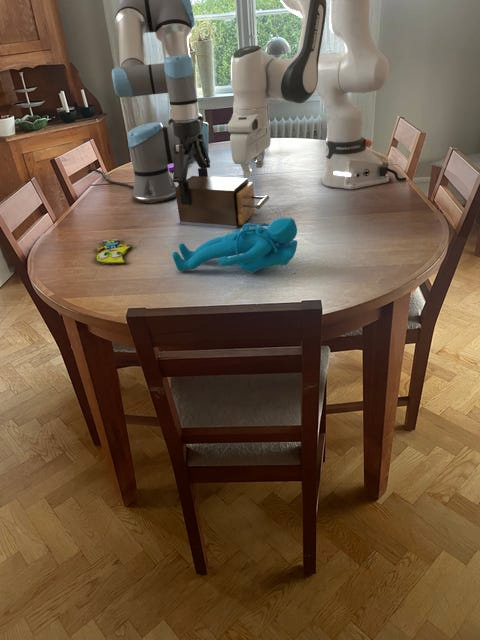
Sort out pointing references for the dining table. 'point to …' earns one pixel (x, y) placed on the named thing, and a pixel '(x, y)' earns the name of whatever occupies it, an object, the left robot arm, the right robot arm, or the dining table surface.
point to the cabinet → (211, 201)
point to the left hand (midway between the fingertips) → (195, 196)
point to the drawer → (247, 202)
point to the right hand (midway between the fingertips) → (254, 172)
